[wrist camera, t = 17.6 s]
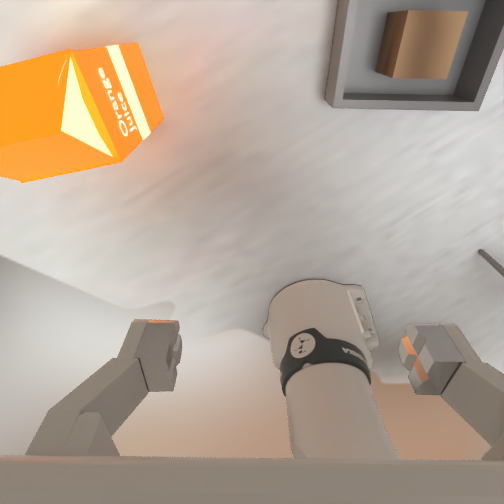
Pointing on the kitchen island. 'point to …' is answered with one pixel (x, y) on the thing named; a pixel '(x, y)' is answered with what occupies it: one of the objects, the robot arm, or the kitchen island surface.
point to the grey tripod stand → (492, 262)
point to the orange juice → (74, 111)
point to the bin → (405, 89)
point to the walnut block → (420, 43)
